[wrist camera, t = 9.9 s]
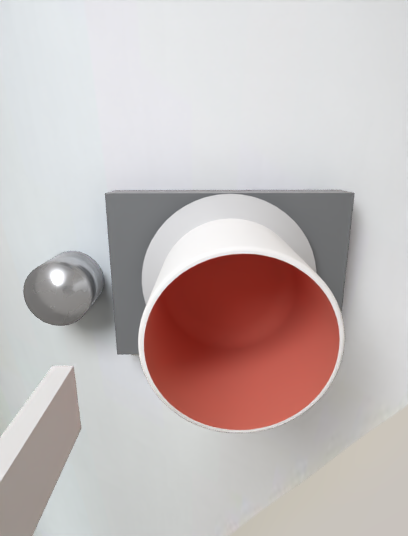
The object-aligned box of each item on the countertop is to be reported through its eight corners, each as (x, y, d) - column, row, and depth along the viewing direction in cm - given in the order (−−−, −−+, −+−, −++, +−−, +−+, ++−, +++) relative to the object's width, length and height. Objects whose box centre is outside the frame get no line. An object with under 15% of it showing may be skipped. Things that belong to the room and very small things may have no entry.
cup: (324, 271, 27) (389, 332, 17) (237, 366, 29) (253, 466, 20) (218, 186, 25) (225, 200, 16) (135, 293, 27) (97, 364, 18)
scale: (114, 190, 29) (101, 194, 25) (339, 189, 29) (360, 193, 25) (125, 341, 33) (114, 365, 29) (324, 341, 33) (340, 365, 29)
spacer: (42, 251, 31) (18, 263, 27) (101, 250, 31) (86, 263, 27) (49, 306, 32) (28, 325, 28) (106, 305, 32) (92, 325, 28)
